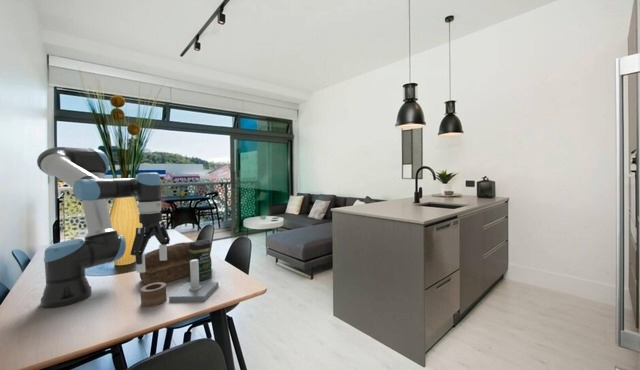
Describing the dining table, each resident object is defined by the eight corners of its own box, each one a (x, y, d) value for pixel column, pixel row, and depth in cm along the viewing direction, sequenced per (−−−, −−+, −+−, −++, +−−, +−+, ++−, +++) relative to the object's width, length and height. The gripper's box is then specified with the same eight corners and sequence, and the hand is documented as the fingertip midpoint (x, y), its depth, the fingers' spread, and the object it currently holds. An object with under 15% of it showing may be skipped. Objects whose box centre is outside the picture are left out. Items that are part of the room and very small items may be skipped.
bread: (136, 281, 127) (135, 248, 126) (202, 263, 151) (201, 235, 151) (147, 289, 117) (146, 253, 117) (215, 268, 142) (214, 239, 141)
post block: (169, 301, 105) (167, 266, 105) (187, 286, 119) (186, 255, 119) (204, 301, 105) (202, 266, 104) (218, 286, 119) (217, 255, 118)
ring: (136, 307, 101) (135, 291, 101) (150, 296, 110) (150, 282, 109) (158, 306, 101) (157, 291, 101) (170, 296, 110) (170, 282, 109)
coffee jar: (195, 283, 122) (193, 243, 121) (187, 279, 127) (185, 241, 126) (215, 277, 129) (213, 239, 129) (206, 273, 134) (205, 237, 134)
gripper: (137, 217, 91) (140, 278, 92) (177, 208, 116) (179, 255, 117) (116, 217, 92) (119, 278, 92) (160, 208, 116) (162, 256, 117)
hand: (153, 265), depth 105 cm, fingers open, 13 cm apart
